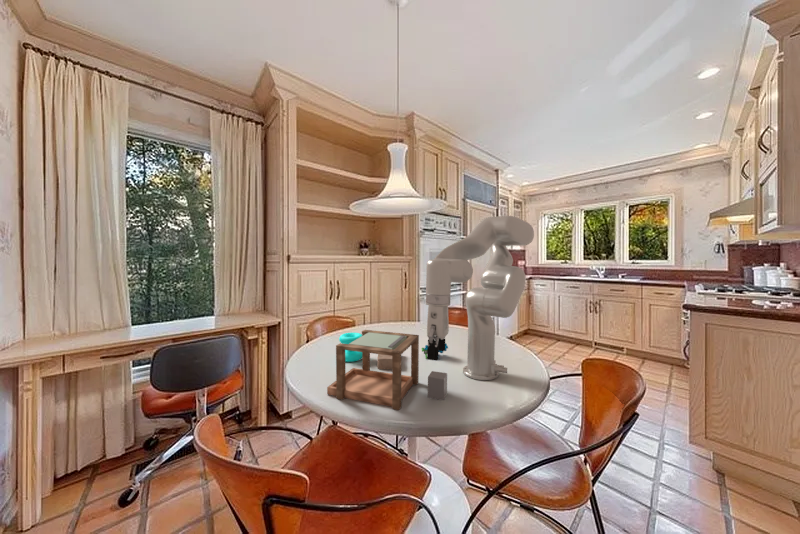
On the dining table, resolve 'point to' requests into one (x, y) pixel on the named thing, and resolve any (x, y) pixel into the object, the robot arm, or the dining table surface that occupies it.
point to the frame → (376, 374)
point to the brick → (384, 361)
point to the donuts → (349, 355)
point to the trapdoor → (379, 340)
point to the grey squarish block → (437, 385)
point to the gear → (427, 348)
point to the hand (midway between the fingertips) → (436, 354)
